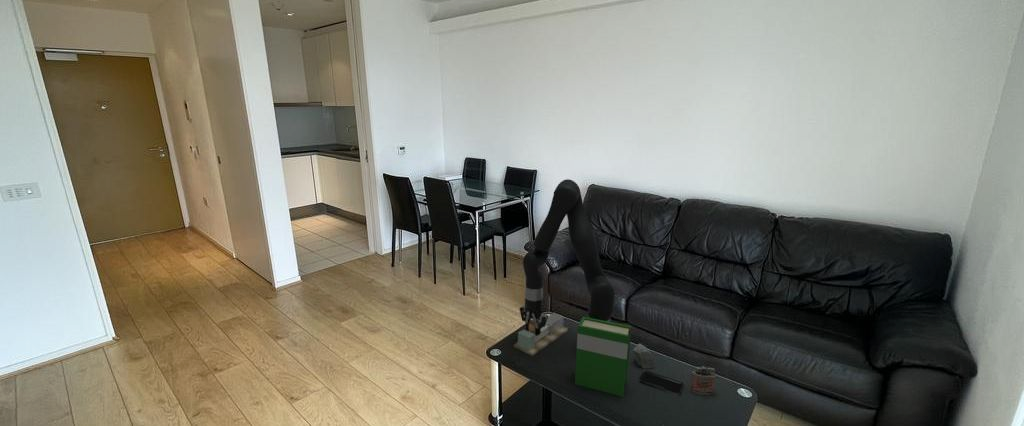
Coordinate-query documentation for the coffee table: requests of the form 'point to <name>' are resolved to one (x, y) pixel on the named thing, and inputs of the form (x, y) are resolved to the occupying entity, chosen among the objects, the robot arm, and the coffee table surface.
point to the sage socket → (526, 340)
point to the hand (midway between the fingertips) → (533, 332)
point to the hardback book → (602, 355)
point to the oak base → (543, 342)
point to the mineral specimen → (643, 356)
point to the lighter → (703, 381)
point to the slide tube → (544, 330)
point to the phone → (661, 383)
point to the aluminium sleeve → (555, 323)
